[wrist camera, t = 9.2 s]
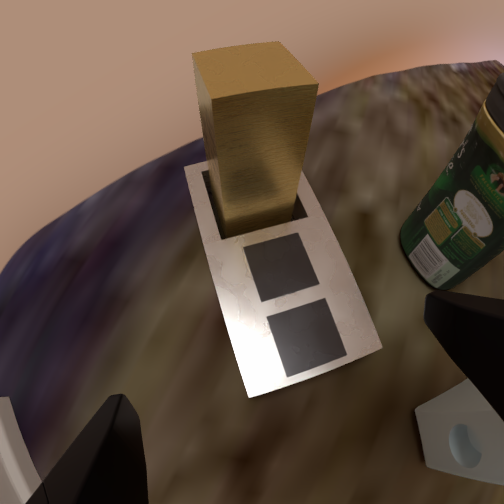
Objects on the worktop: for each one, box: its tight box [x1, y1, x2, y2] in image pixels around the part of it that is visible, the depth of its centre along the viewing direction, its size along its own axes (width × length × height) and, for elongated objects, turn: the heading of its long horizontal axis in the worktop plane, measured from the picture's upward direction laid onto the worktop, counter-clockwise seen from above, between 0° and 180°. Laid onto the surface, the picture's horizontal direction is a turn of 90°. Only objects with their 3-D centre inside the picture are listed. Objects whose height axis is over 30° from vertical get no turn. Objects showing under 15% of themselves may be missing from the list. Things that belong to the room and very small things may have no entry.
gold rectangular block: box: [192, 41, 319, 239], centre depth 19 cm, size 5×5×14 cm
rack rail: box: [184, 161, 383, 398], centre depth 22 cm, size 18×9×3 cm, turn 17°
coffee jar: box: [400, 73, 504, 290], centre depth 16 cm, size 10×8×19 cm
